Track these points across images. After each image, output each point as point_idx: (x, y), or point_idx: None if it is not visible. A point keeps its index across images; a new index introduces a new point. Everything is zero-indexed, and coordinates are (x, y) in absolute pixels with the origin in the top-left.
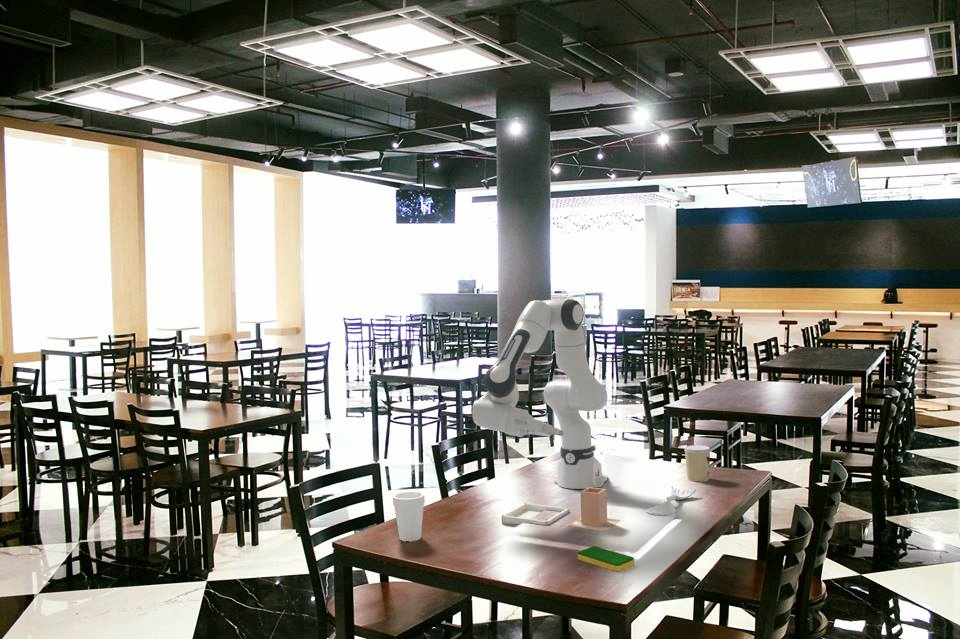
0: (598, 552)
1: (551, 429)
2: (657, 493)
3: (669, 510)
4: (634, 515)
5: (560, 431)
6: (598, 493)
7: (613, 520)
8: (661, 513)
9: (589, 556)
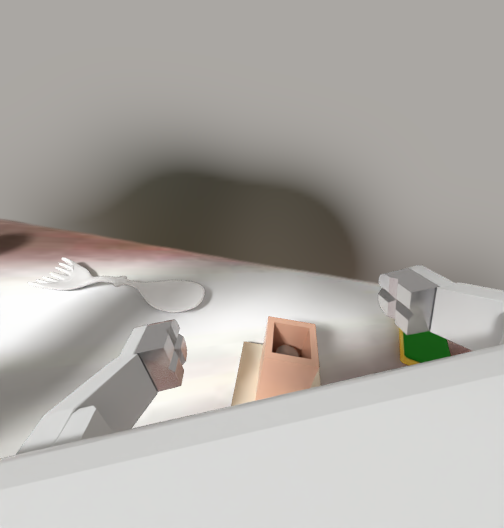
0: (427, 343)
1: (472, 308)
2: (15, 313)
3: (168, 287)
4: (178, 333)
5: (171, 341)
6: (312, 325)
7: (250, 351)
8: (203, 289)
9: (449, 353)
